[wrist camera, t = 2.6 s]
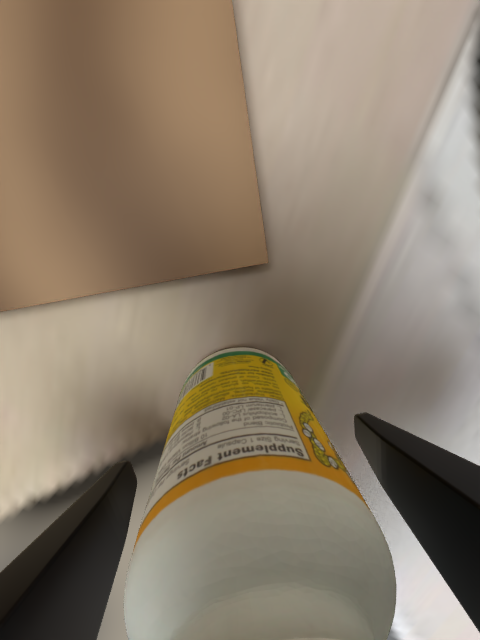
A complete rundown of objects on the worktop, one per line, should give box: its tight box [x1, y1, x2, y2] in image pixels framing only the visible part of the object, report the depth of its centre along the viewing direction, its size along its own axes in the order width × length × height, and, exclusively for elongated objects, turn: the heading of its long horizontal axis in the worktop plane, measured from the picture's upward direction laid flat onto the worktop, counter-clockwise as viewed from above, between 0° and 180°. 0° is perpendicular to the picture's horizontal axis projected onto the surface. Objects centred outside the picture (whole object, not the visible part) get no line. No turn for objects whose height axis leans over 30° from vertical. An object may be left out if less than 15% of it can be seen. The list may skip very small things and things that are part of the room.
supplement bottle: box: [124, 347, 396, 640], centre depth 7 cm, size 5×5×10 cm
